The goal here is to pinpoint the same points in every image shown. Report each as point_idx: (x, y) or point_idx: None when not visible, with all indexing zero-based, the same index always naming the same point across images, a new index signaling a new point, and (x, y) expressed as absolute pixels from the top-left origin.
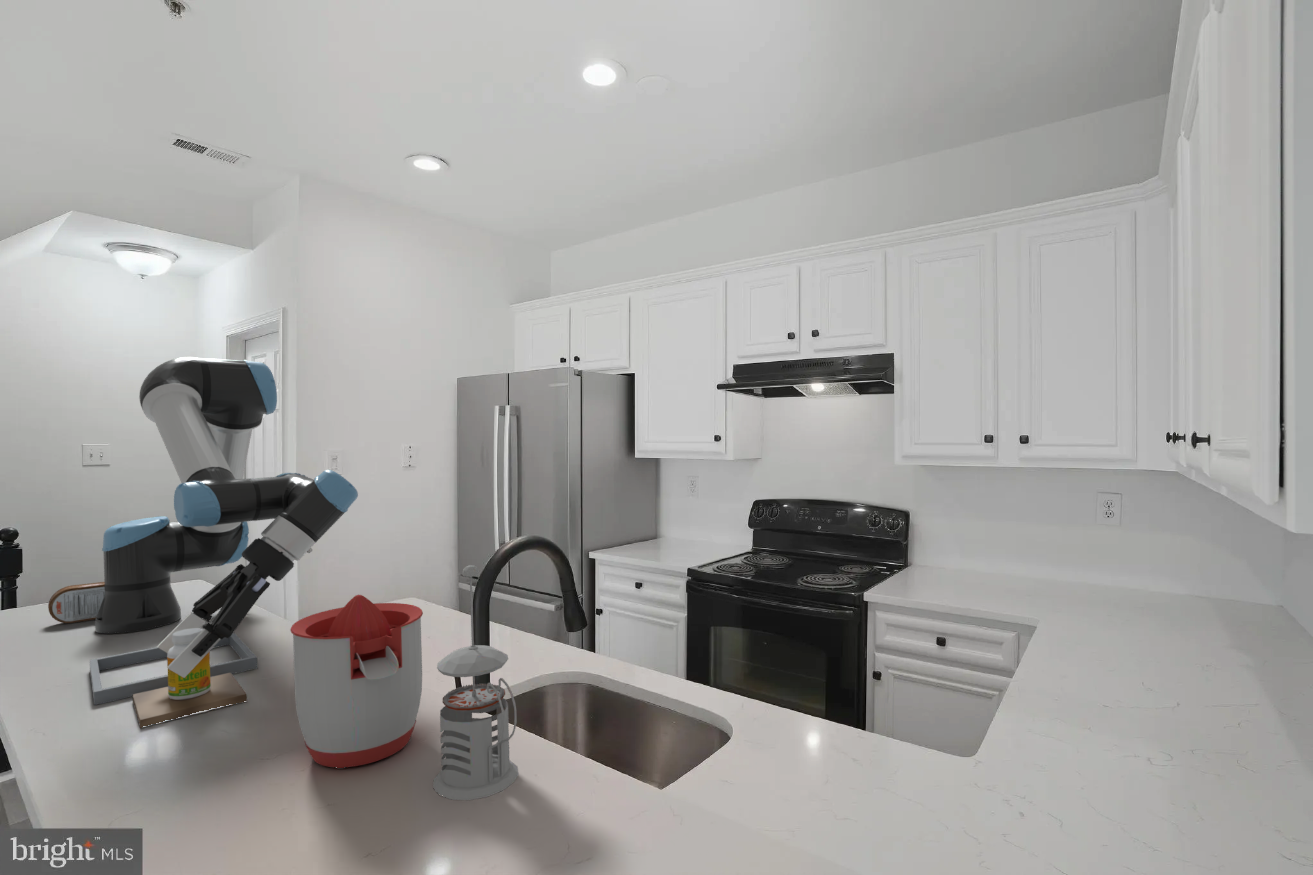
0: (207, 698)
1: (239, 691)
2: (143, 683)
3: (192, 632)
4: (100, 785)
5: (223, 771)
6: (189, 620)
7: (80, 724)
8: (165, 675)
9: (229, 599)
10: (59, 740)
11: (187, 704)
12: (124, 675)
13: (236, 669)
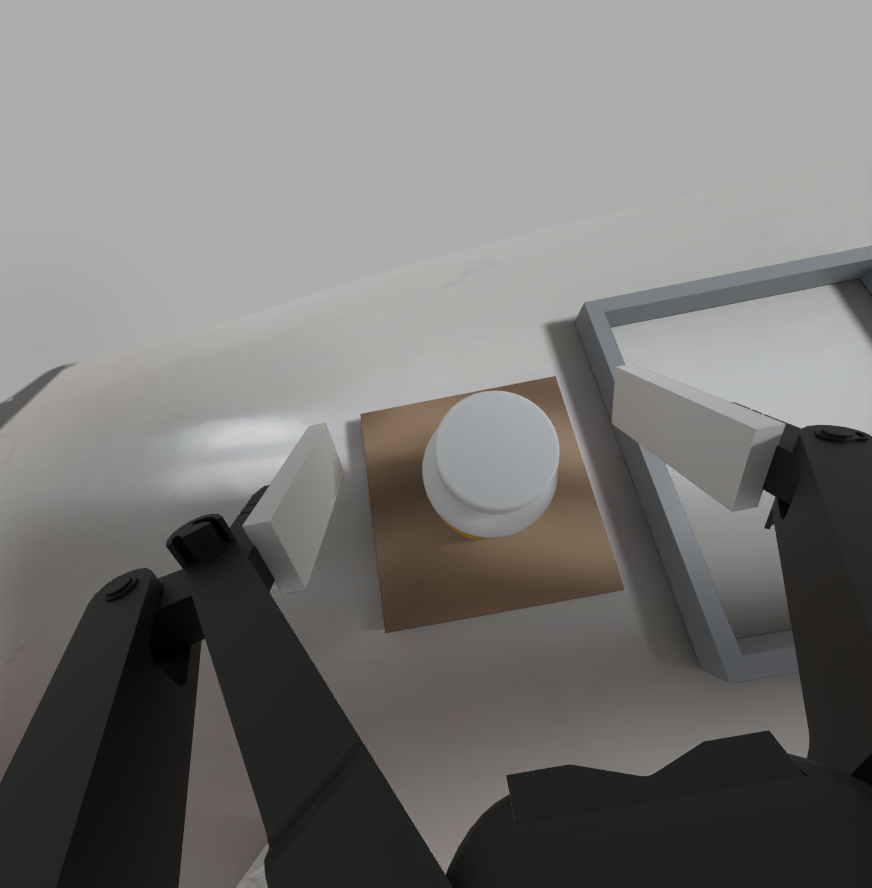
0: (413, 535)
1: (418, 614)
2: (613, 385)
3: (466, 466)
4: (146, 402)
5: (31, 577)
6: (716, 433)
7: (464, 323)
8: None
9: (264, 750)
10: (398, 311)
11: (399, 494)
12: (790, 337)
13: (684, 605)
